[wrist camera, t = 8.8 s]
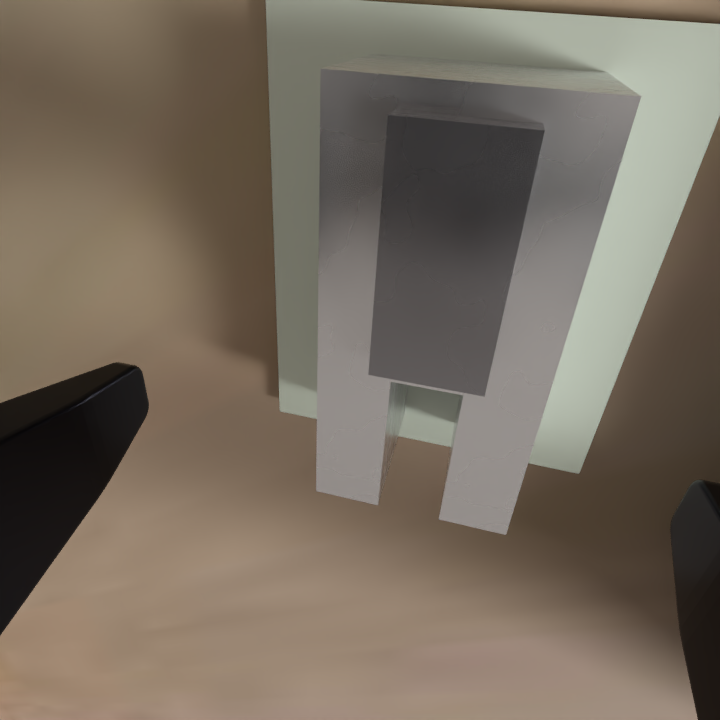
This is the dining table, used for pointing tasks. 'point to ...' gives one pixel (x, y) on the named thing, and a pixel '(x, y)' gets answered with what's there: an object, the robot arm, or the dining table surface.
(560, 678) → the dining table surface
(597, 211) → the lever cap
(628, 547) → the dining table surface
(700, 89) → the rubber mat
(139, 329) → the dining table surface
